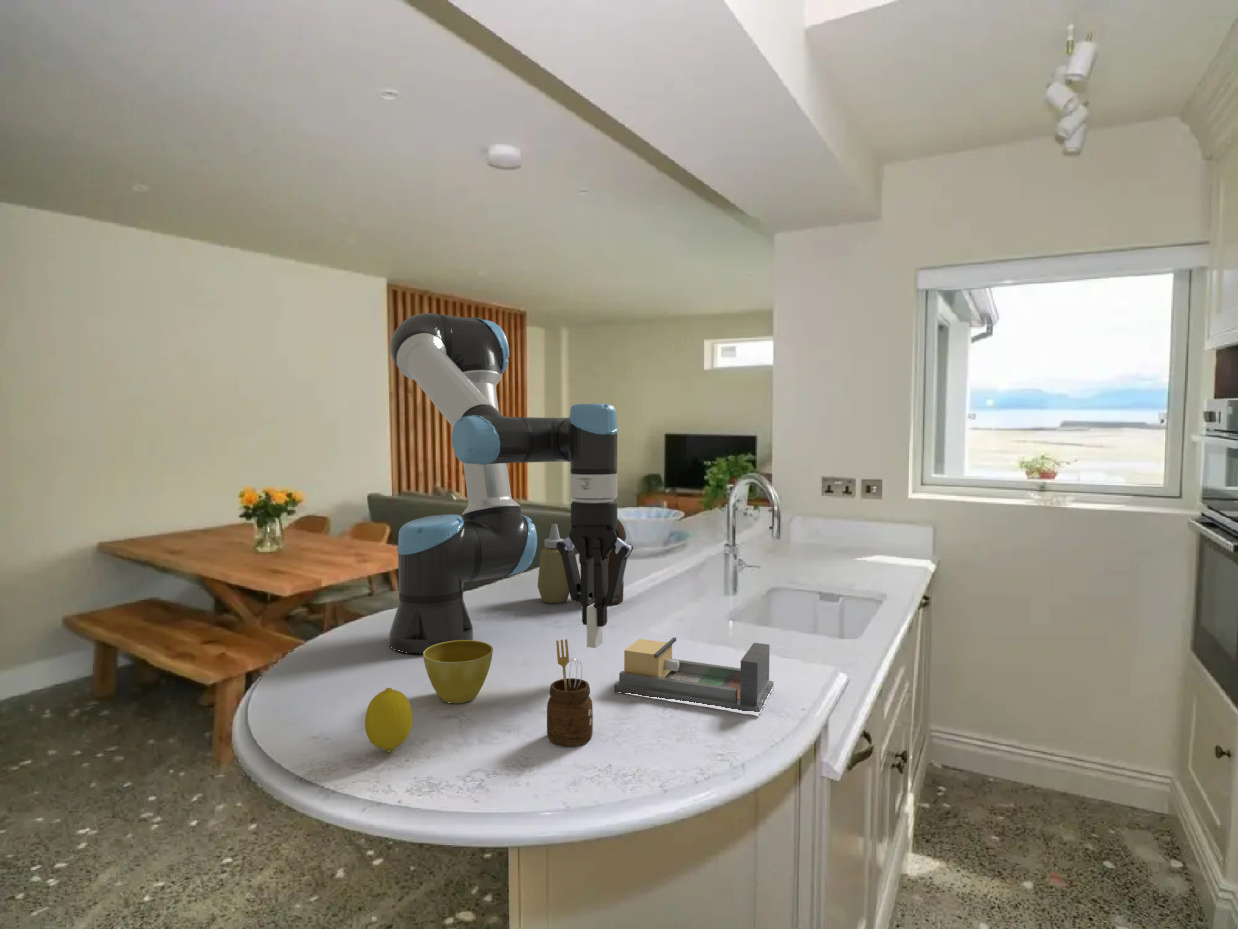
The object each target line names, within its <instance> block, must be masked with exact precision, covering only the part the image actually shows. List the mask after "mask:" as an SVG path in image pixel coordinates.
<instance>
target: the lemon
mask: <svg viewBox="0 0 1238 929" xmlns="http://www.w3.org/2000/svg"><path fill="white" fill-rule="evenodd" d="M364 718H365V720H364V728H365V733H366V736H367V738H368V741H369V742H370V743H371V744H372V745H373V746H374V747H376V748H378V749H382V750H384V751H385V752H386V751H391V752H393V751H394V749H395V748H398V747H399V746H401V745H402V744H403V743H404V742H405V741H406V740H407V739H408V737H409V736H410V732H411V731H412V725H413V711H412V706H411V703H410V701H409V698H408V697H407V696H406V695H405V694H404V693H402V692H401V691H399V690H396V689H393V688H392V687H386V688H384V690H383V691H380V692H379V693H377V694H376V695H375V696H374V697H373V698H372V699H371V700H370V702H369V703H368V706H367V709H366V712H365V717H364Z"/></svg>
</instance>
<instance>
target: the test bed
mask: <svg viewBox="0 0 1238 929" xmlns="http://www.w3.org/2000/svg"><path fill="white" fill-rule="evenodd" d="M770 646H771V645H770V644H769V643H760V642H753V643H752V645H751V646H750V647H749V649H748V650H747V651H746V653H745V654H744V655H743V657H742V658H741V659H740V668H739V667H732V666H727V665H718V664H712V663H703V662H697V661H689V660H684V659H676V658H672V660H678V661H679V669H678V671H671V672H670V673H669V674H668V675H667V676H666V677H658V676H652V675H645V674H638V673H632V672H625V671H624V670H622V671H620V672H619V674H618V678H619V679H618V681H617V682H616V683H615V684H613V692H621V693H631V694H638V695H642V696H649V697H657V698H658V697H659V698H665V699H675V700H680V701H681V700H682V701H689V702H694V703H695V702H696V703H702V704H707V705H715V706H721V707H725V708H731V709H738V710H742V711H754V712H760V710H761V708H762V706H763V705H764V702H765V700H766V699H767V696H768V694H769V693H770V691H771V689H772V687H773V688H774V681H772V680H770Z"/></svg>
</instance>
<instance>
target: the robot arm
mask: <svg viewBox="0 0 1238 929" xmlns="http://www.w3.org/2000/svg"><path fill="white" fill-rule="evenodd" d="M391 337H392V338H391V341H390V355H391V357H392V361H393V363H394V364H395V366H396V367H397V369H398V370H399V371H400V372H401V374H402V375H403V376H404V377H406V378H407V379H410V380H414V382H415V383H416V384H417V385H418V386H419V388H420V389H421V390H422V391H423V392H424V393H425V395H426V396H427V397H428V399H429V400H430V401H431V403H433V405H434V406H435V407H436V408H437V410H438V411H439V412H440V414H441V415H442V416H443V417H444V418H445V419H446V421H447V422H448V423H449V425H450V426H451V427H452V431H451V445H452V449H453V450H454V451H453V452H454V455H455V458H457V460H458V461H460V462H462V466H463V471H464V479H465V486H466V495H467V501H468V505H467V507H466V508H465V509H464V511H463V512H462V513H461V515H462V516H461V515H459V514H455V513H454V514H453V513H451V514H449V513H448V514H446V513H445V514H439V515H438V514H437V515H429V516H424V517H421V518H416V519H413V520H409V521H408V522H406V523H405V524H403V525H401V527H400V529H399V531H398V541H397V542H398V543H397V547H396V550H397V551H396V552H397V561H398V562H397V563H398V564H397V565H398V568H397V569H398V572H397V573H398V605H397V608H396V612H395V615H394V618H393V621H392V624H391V627H390V630H389V634H388V635H389V637H388V638H389V644H390V645H389V647H390V646H391V647H392V648H394V649H395V650H400V651H403V652H407V653H406V654H408V653H416V654H415V655H423V652H424V651H425V650H426V649H427V648H429V647H431V646H433V645H435V644H439V643H443V642H449V641H457V640H474V628H473V624H472V621H471V618H470V615H469V613H468V609H467V607H466V604H465V601H464V583H466V582H474V581H481V580H488V579H489V580H490V579H495V578H496V579H497V578H501V577H502V578H507V577H509V576H512V575H517V574H521V573H523V572H525V571H527V570H528V568H529V567H530V566H531V564H532V563H533V559H535V557H536V552H537V546H538V534H537V533H538V532H537V529H536V525H535V524H534V523H533V520H532V519H531V518H530V517H528V516H526V515H523V514H522V509H521V505H520V504H519V503H518V502H516V501H515V500H514V499H513V498H512V494H511V493H512V492H511V486H510V478H509V472H508V471H509V470H508V465H507V464H515V463H517V464H518V463H519V464H521V463H523V464H524V463H525V464H526V463H551V462H552V463H558V462H559V463H570V498H572V499H573V500H574V501H571V503H570V523H571V527H570V530H569V532H568V536H567V537H566V538H565V539H564V540H563V541H560V542H558V543H557V544H556V547H557V549H558V551H559V553H560V554H561V556H562V560H563V565H564V569H565V574H566V578H567V583H568V587H569V592H570V593H569V596H570V599H571V600H572V601H573V602H578V603H579V604H580V605H581V622H582V625H585V626H586V648H592V649H596V648H598V647H600V645H602V644H603V627H605V626H606V625H607V623H608V606H607V605H609V604H612V603H614V602H615V601H617V600H618V598H619V594H620V589H621V585H622V580H623V576H624V577H625V570H626V566H627V562H628V558H629V557H630V555H631V553H632V552H633V551H634V545H633V544H631V543H629V544H628V543H627V542H626V543H625V542H624V541H622V540H621V539H620V534H619V532H618V530H617V519H618V503H617V501H615V499H617V497H618V432H619V428H618V419H617V409H616V407H615V406H614V405H612V404H609V403H577V404H576V403H575V404H573V405H572V406H571V407H570V410H569V416H568V417H538V416H537V417H535V416H534V417H533V416H532V417H531V416H530V417H529V416H528V417H523V416H504V415H502V414H501V413H500V409H499V401H498V394H497V389H496V387H497V385H498V384H499V383H500V382H501V380H502V374H504V372H505V371H506V370H507V368H508V365H509V359H508V358H510V348H509V347H510V346H509V343H508V339H507V336H506V334H505V332H504V330H503V329H502V327H501V326H500V325H499V324H497V323H495V322H494V321H491V320H487V319H483V318H479V317H472V318H471V317H463V316H455V315H445V314H439V313H438V314H437V313H432V312H423V313H417V314H414V315H412V316H410V317H408V318H407V319H405V320H404V321H402V322H401V323H400V324H399V325H398V326H397V328H396V329H395V331H394V333H393V334H392V336H391ZM615 546H616V550H615V552H616V554H617V555H616V557H615V560H614V564H613V569H612V573H611V578H610V582H609V587H608V562H609V554H610V553H611V551H612V550H613V548H614V547H615ZM574 549H576V551H577V553H578V563H579V564H580V570H579V566H578V563H577V557H576V556H577V555H576V552H575V551H574ZM594 565H595V599H594ZM594 601H595V603H593V604H592V602H594ZM609 606H610V605H609ZM391 647H390V648H391ZM392 648H391V649H392ZM395 650H394V651H395ZM417 653H419V654H417ZM421 653H422V654H421Z"/></svg>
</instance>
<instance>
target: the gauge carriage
mask: <svg viewBox="0 0 1238 929" xmlns="http://www.w3.org/2000/svg"><path fill="white" fill-rule="evenodd" d="M675 642H677V637H672V638H671V639H670V640H668V641H667V642H666V641H659V640H658V641H657V640H652V639H643V638H639V639H637V640H635V642H632V644H630V645H629V646H628V647H626V649H624V651H623V652H624V654H623V655H624V656H623V659H624V660H623V661H624V665H623V666H624V668H623V671H625V672H632V673H638V674H645V675H652V676H658V677H666V676H667V675H668V674H669V673H670V672H671V671H678V669H679V661H678V660H679V659H677V660H672V659H673V644H675Z"/></svg>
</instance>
